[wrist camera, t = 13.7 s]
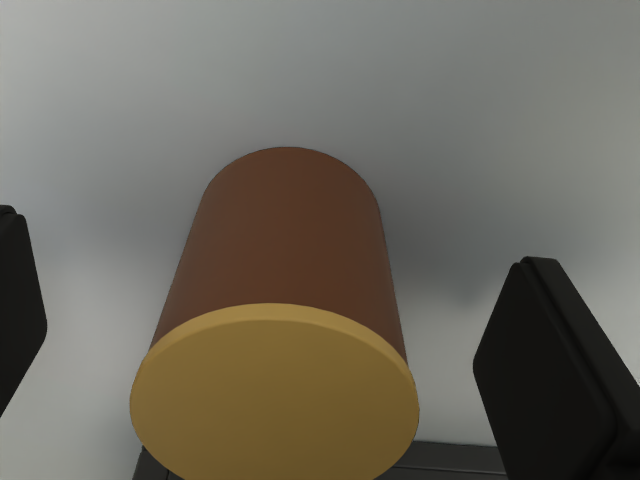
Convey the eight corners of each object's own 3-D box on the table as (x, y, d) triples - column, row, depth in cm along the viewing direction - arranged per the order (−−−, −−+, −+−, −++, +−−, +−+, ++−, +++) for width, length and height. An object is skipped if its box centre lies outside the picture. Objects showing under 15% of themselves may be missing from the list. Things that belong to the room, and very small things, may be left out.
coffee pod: (195, 131, 10) (116, 303, 6) (401, 156, 11) (453, 334, 7) (195, 291, 13) (138, 493, 9) (365, 308, 13) (387, 509, 9)
